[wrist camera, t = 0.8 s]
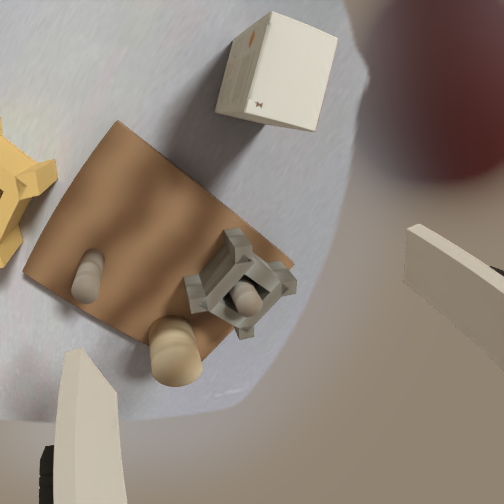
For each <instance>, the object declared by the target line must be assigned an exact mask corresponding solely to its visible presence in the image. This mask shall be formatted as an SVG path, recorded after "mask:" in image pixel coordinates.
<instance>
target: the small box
mask: <svg viewBox="0 0 504 504" xmlns="http://www.w3.org/2000/svg"><path fill="white" fill-rule="evenodd" d="M337 42H338V38H336V37H334V36H332V35H330V34H328V33H325V32H323V31H321V30H319V29H316V28H314V27H312V26H309V25H307V24H304V23H302V22H299V21H297V20H294V19H292V18H289V17H286V16H284V15H281V14H278V13H276V12H269V13H268V14H267V15H265V16H264V17H262V18H261V19H260V20H258V21H257V22H256V23H254V24H253V25H252V26H250V27H249V28H248V29H246V30H245V31H244V32H242V33H241V34H240V35H239V36H237V37H236V38H235V39H234V40H233V43H232V47H231V50H230V54H229V58H228V61H227V65H226V69H225V73H224V76H223V80H222V84H221V88H220V92H219V96H218V100H217V104H216V108H215V113H218V114H223V115H227V116H231V117H235V118H240V119H244V120H248V121H253V122H257V123H261V124H265V125H272V126H279V127H285V128H292V129H298V130H303V131H310V132H315V131H316V127H317V123H318V119H319V116H320V112H321V108H322V104H323V100H324V96H325V91H326V87H327V83H328V80H329V75H330V71H331V67H332V63H333V59H334V55H335V51H336V47H337Z"/></svg>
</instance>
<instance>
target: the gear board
mask: <svg viewBox="0 0 504 504" xmlns="http://www.w3.org/2000/svg"><path fill="white" fill-rule="evenodd" d="M293 265H294V263H293V262H292V261H291V260H290V259H289V258H288V256H286V255H285V254H284V253H283V252H282V251H280V250H279V249H278V248H277V247H275V246H274V245H273V244H272V243H271V242H269V241H268V240H267V239H266V238H265V237H263V236H262V235H261V234H260V233H258V232H257V231H256V230H255V229H254V228H252V227H251V226H250V225H249V224H248V223H246V222H245V221H244V220H243V219H241V218H240V217H239V216H238V215H236V214H235V213H234V212H233V211H232V210H230V209H229V208H228V207H227V206H225V205H224V204H223V203H222V202H220V201H219V200H218V199H217V198H216V197H214V196H213V195H212V194H211V193H209V192H208V191H207V190H206V189H204V188H203V187H202V186H201V185H199V184H198V183H197V182H196V181H194V180H193V179H192V178H191V177H189V176H188V175H187V174H186V173H184V172H183V171H182V170H181V169H179V168H178V167H177V166H176V165H174V164H173V163H172V162H171V161H169V160H168V159H167V158H166V157H164V156H163V155H162V154H161V153H159V152H158V151H157V150H156V149H154V148H153V147H152V146H150V145H149V144H148V143H147V142H145V141H144V140H143V139H142V138H140V137H139V136H138V135H136V134H135V133H134V132H133V131H131V130H130V129H129V128H128V127H126V126H125V125H124V124H122V123H121V122H120V121H119V120H118V121H116V122H115V123H114V125H113V126H112V127H111V128H110V130H109V131H108V132H107V134H106V135H105V136H104V138H103V139H102V140H101V142H100V143H99V144H98V146H97V147H96V148H95V150H94V151H93V152H92V154H91V155H90V157H89V158H88V160H87V161H86V162H85V164H84V165H83V167H82V168H81V170H80V171H79V173H78V174H77V176H76V177H75V179H74V180H73V182H72V183H71V185H70V186H69V188H68V189H67V191H66V193H65V194H64V196H63V197H62V199H61V201H60V202H59V204H58V206H57V207H56V209H55V211H54V212H53V214H52V216H51V218H50V219H49V221H48V223H47V225H46V226H45V228H44V230H43V232H42V234H41V235H40V237H39V239H38V241H37V243H36V245H35V247H34V249H33V251H32V253H31V255H30V257H29V259H28V261H27V263H26V265H25V267H24V269H23V271H22V272H23V273H25V274H26V275H28V276H29V277H31V278H32V279H34V280H35V281H37V282H38V283H40V284H41V285H43V286H44V287H46V288H48V289H49V290H51V291H52V292H54V293H55V294H57V295H59V296H60V297H62V298H63V299H65V300H67V301H68V302H70V303H72V304H73V305H75V306H77V307H78V308H80V309H82V310H83V311H85V312H87V313H89V314H90V315H92V316H94V317H96V318H97V319H99V320H101V321H103V322H105V323H106V324H108V325H110V326H112V327H114V328H115V329H117V330H119V331H121V332H123V333H125V334H127V335H129V336H131V337H133V338H135V339H136V340H138V341H140V342H142V343H144V344H146V345H148V346H149V347H150V358H151V368H152V374H153V377H154V378H155V379H156V380H157V381H158V382H159V383H161V384H163V385H166V386H171V387H180V386H185V385H188V384H190V383H192V382H194V381H195V380H197V379H198V378H199V376H200V375H201V373H202V369H203V366H202V361H203V360H204V359H205V358H206V357H207V356H208V355H209V354H210V353H211V352H212V351H213V350H214V349H215V348H216V347H217V346H218V345H219V344H220V343H221V341H222V340H223V339H224V338H225V337H226V336H227V335H228V334H229V333H230V332H231V331H232V330H233V329H234V328H235V331H236V333H237V335H238V338H239V340H242V339H247V338H251V337H254V325H255V324H256V323H257V322H258V321H259V320H260V319H261V317H262V316H263V315H264V314H265V313H266V312H267V311H268V310H269V309H270V308H271V307H272V306H273V305H274V304H275V303H276V302H277V301H278V300H279V299H280V298H281V297H282V296H287V295H292V294H296V286H297V280H296V279H295V277H294V276H293V275H292V274H291V273H290V271H289V270H290V269H291V268H292V266H293Z"/></svg>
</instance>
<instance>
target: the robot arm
mask: <svg viewBox="0 0 504 504" xmlns="http://www.w3.org/2000/svg"><path fill="white" fill-rule="evenodd" d="M403 283H405V284H406V285H407V286H408V287H409V288H411V289H412V290H413V291H414V292H416V293H417V294H418V295H419V296H420V297H421V298H423V299H424V300H425V301H426V302H427V303H429V304H430V305H431V306H432V307H433V308H434V309H436V310H437V311H438V312H439V313H440V314H442V315H443V316H444V317H445V318H446V319H447V320H449V321H450V322H451V323H452V324H453V325H454V326H455V327H457V328H458V329H459V330H460V331H461V332H462V333H463V334H464V335H466V336H467V337H468V338H469V339H470V340H471V341H472V342H473V343H474V344H476V345H477V346H478V347H479V348H480V349H481V350H482V351H483V352H484V353H485V354H486V355H488V357H490V358H491V359H492V360H493V361H494V362H495V363H496V364H497V365H498V366H499V367H500V368H501V369H502V370H503V371H504V271H502V270H500V269H497V268H494V267H492V266H487V265H486V264H484V263H483V262H481V261H480V260H478V259H477V258H475V257H474V256H472V255H470V254H469V253H467V252H466V251H464V250H463V249H461V248H459V247H458V246H456V245H455V244H453V243H451V242H450V241H448V240H446V239H445V238H443V237H441V236H440V235H438V234H436V233H435V232H433V231H431V230H429V229H428V228H426V227H424V226H423V225H421V224H417V225H415V226H412V227H410V228H407V231H406V250H405V265H404V277H403ZM40 476H41V477H40V478H39V486H40V489H39V504H127V498H126V490H125V483H124V475H123V467H122V458H121V448H120V436H119V421H118V402H117V393H116V391H115V390H114V389H113V388H112V386H111V385H110V384H109V383H108V381H107V380H106V379H105V378H104V376H103V375H102V374H101V372H100V371H99V370H98V368H97V367H96V366H95V364H94V363H93V362H92V360H91V359H90V358H89V356H88V355H87V354H86V352H85V351H84V349H83V348H82V347H81V348H78V349H75V350H72V351H68V352H65V356H64V362H63V368H62V374H61V381H60V389H59V397H58V406H57V415H56V427H55V441H54V445H51V446H46V447H45V449H44V451H43V454H42V457H41V459H40Z"/></svg>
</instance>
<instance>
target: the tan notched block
mask: <svg viewBox="0 0 504 504" xmlns="http://www.w3.org/2000/svg"><path fill="white" fill-rule="evenodd" d="M57 179H58V176H57V169H56V162H55V159H53V160H49V161H44V162H40V163H36V162H35V161H34V160H33V159H31V158H30V157H29V156H27V155H26V154H25V153H24V152H22V151H21V150H20V149H18V148H17V147H16V146H15V145H13V144H12V143H11V142H10V141H8V140H7V139H6V138H5V137H3V135H2V125H1V117H0V189H1V190H2V191H4V192H3V194H2V196H1V199H0V268H4V267H5V265H6V264H7V262H8V261H9V260H10V258H11V257H12V255H13V254H14V253H15V251H16V250H17V249H18V247H19V246H20V245H21V243H22V242H23V238H22V235H21V231H20V227H19V222H20V220H21V218H22V216H23V214H24V212H25V210H26V208H27V206H28V204H29V202H30V201H31V199H32V197H34V196H38V195H40V194H41V193H43V192H44V191H45V190H46V189H47V188H48V187H49V186H50V185H52V184H53V183H54V182H55V181H56V180H57Z"/></svg>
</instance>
